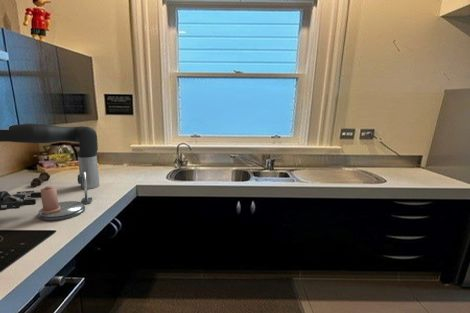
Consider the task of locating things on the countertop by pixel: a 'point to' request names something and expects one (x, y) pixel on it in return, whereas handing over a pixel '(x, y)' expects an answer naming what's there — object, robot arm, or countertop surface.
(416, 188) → the countertop surface
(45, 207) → the cover
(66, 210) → the disc
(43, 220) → the base
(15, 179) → the countertop surface
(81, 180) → the dial gauge
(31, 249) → the countertop surface
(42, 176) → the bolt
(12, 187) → the countertop surface
